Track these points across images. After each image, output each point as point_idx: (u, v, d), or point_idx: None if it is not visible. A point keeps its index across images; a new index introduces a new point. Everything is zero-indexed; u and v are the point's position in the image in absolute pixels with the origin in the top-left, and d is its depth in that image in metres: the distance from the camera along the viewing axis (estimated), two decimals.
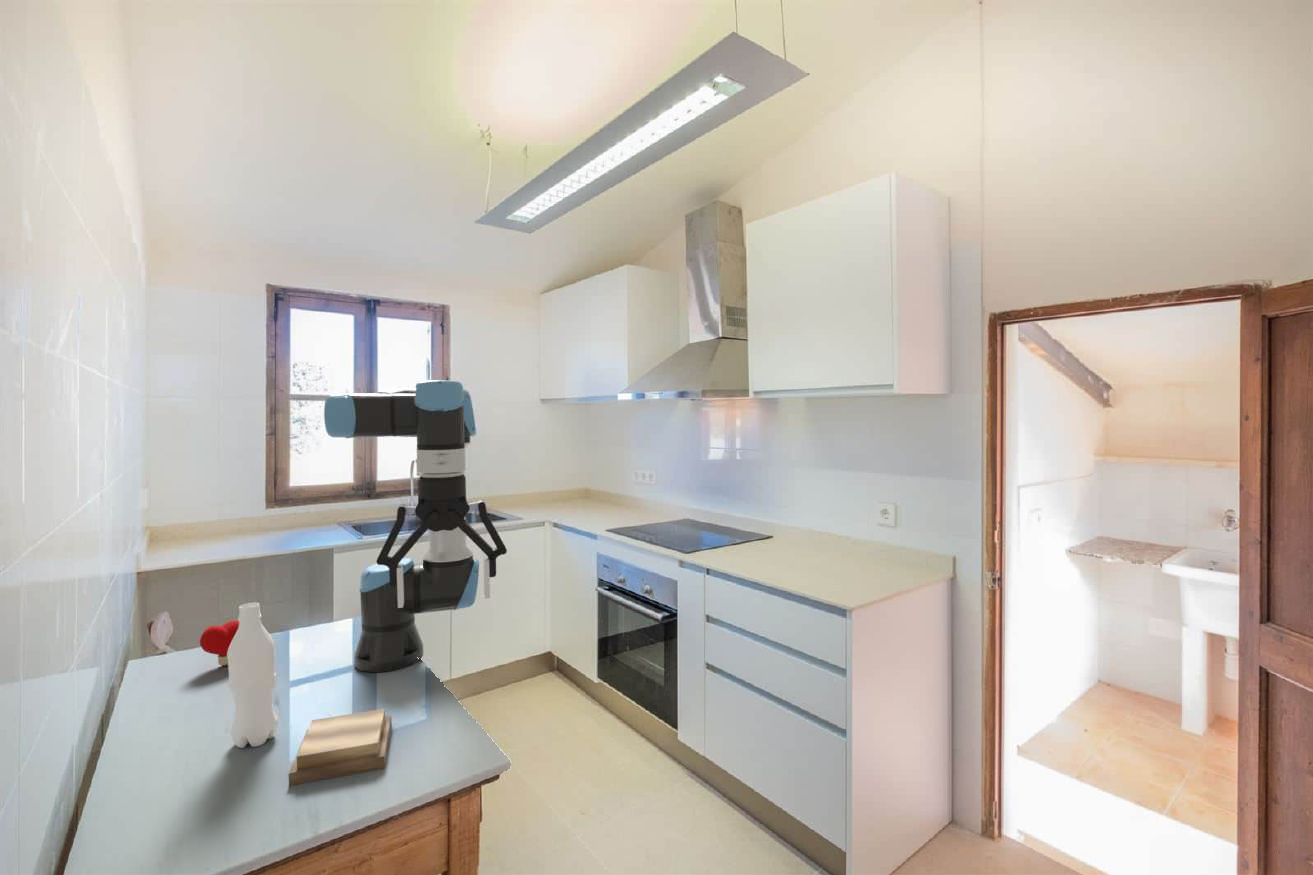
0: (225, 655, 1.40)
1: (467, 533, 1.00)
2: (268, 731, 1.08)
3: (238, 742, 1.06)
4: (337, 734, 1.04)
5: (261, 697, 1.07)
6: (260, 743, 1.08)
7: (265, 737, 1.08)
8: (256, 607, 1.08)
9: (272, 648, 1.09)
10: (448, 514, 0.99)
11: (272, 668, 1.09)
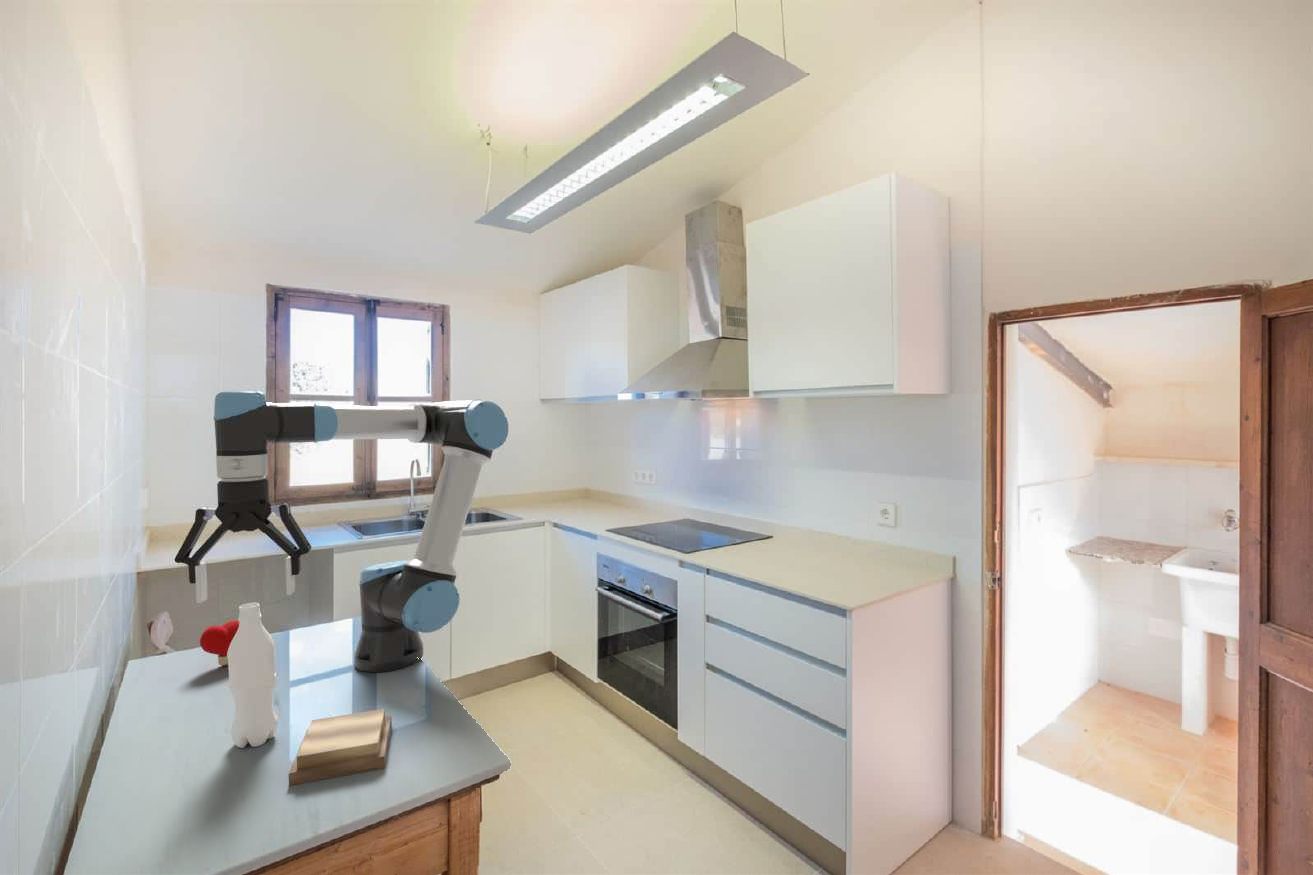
0: (225, 655, 1.40)
1: (268, 534, 1.08)
2: (268, 731, 1.08)
3: (238, 742, 1.06)
4: (337, 734, 1.04)
5: (261, 697, 1.07)
6: (260, 743, 1.08)
7: (265, 737, 1.08)
8: (256, 607, 1.08)
9: (272, 648, 1.09)
10: (246, 516, 1.06)
11: (272, 668, 1.09)
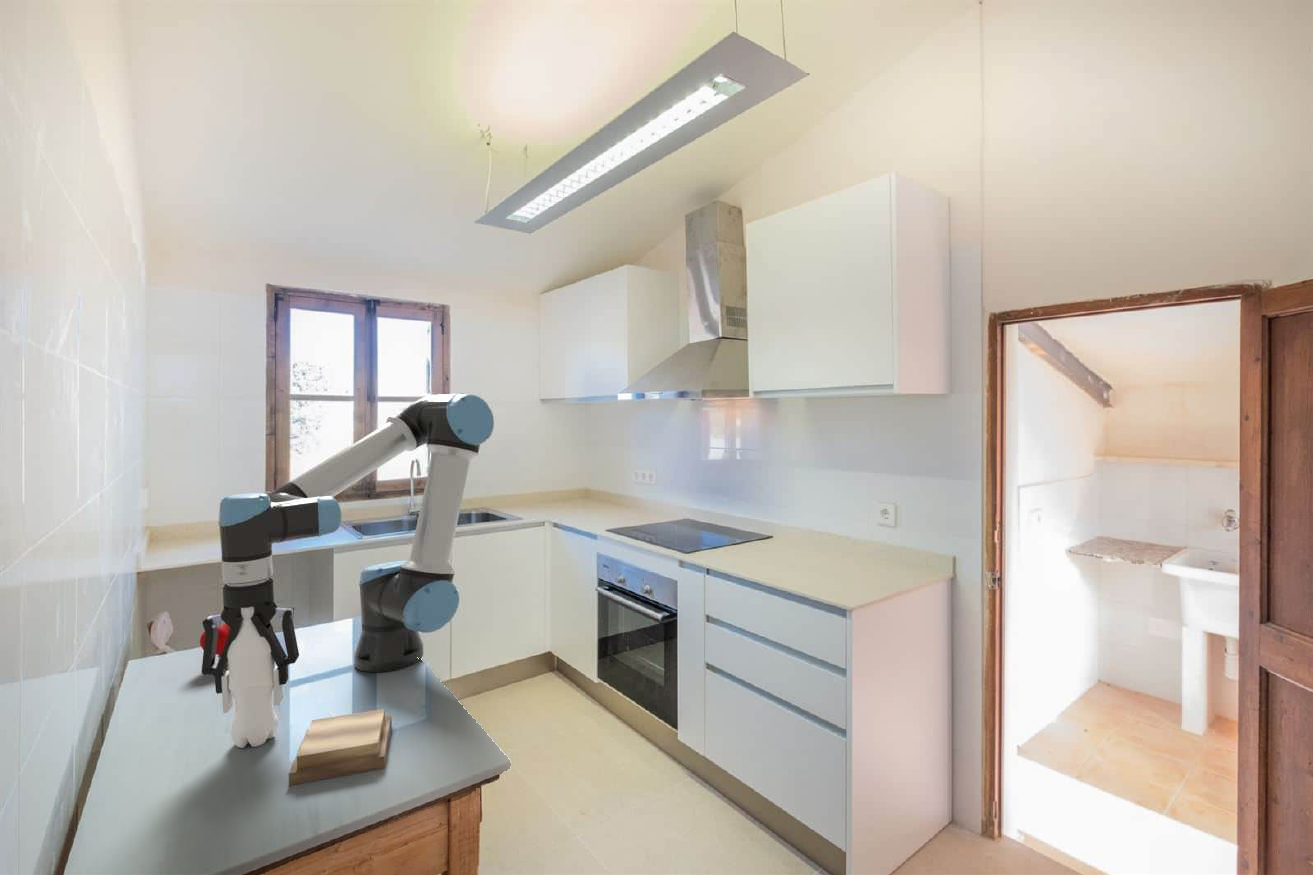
0: None
1: None
2: (268, 730, 1.08)
3: (238, 742, 1.06)
4: (337, 734, 1.04)
5: (261, 697, 1.07)
6: (260, 743, 1.08)
7: (265, 737, 1.08)
8: None
9: None
10: (252, 618, 1.07)
11: (272, 668, 1.09)
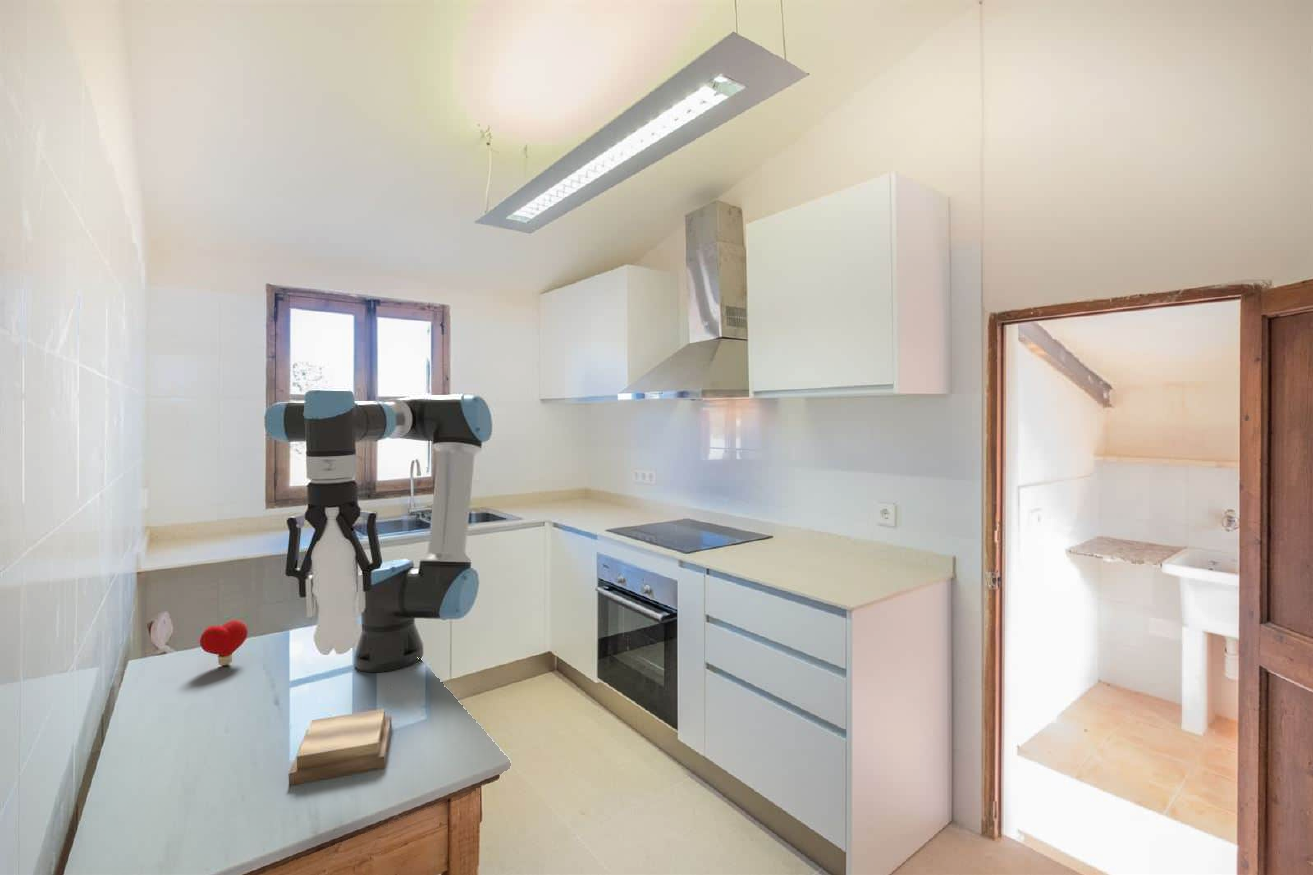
0: (225, 655, 1.40)
1: None
2: (352, 638, 1.03)
3: (323, 649, 1.01)
4: (337, 734, 1.04)
5: (345, 602, 1.02)
6: (345, 650, 1.02)
7: (350, 644, 1.03)
8: None
9: None
10: (337, 518, 1.02)
11: (356, 573, 1.04)
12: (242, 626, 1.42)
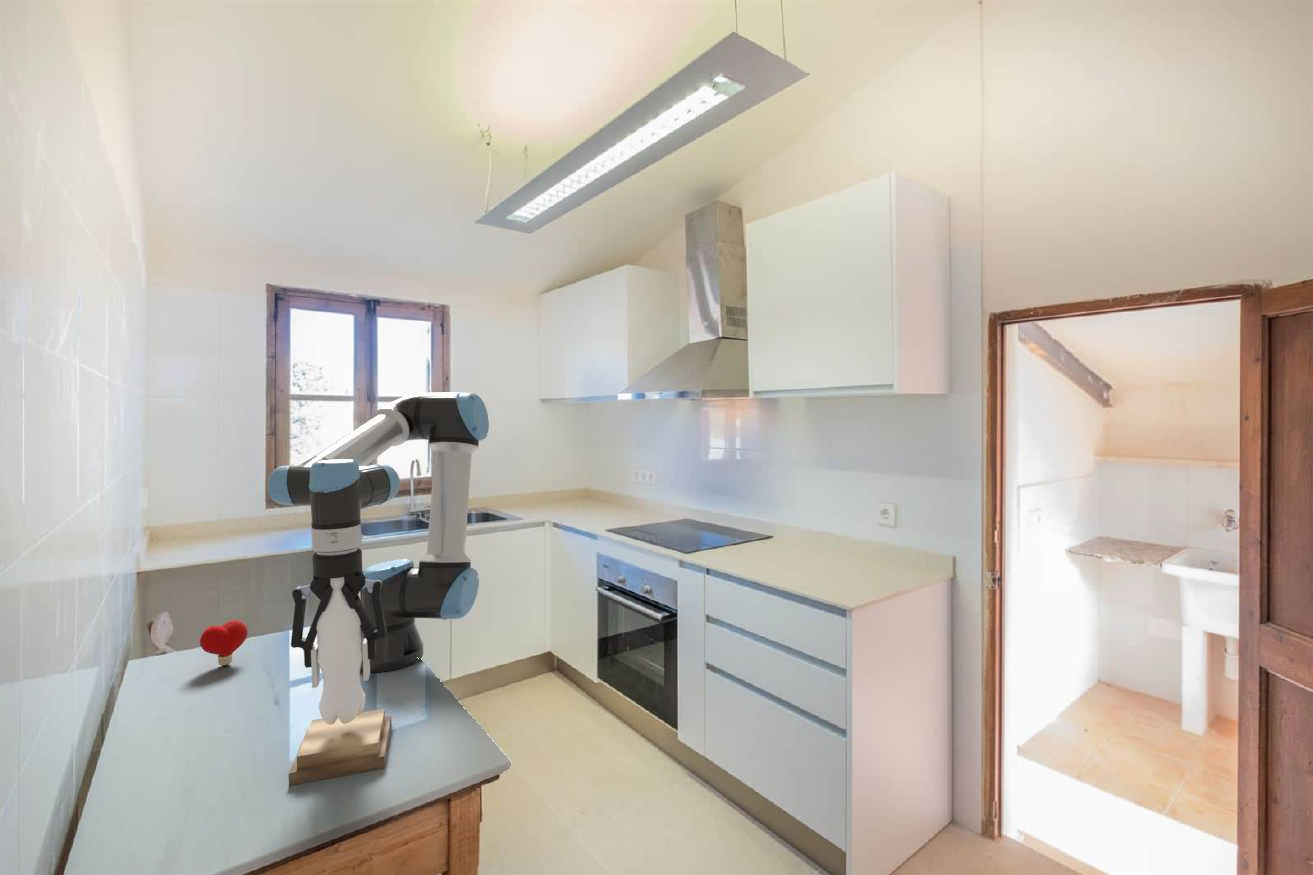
0: (225, 655, 1.40)
1: None
2: (357, 707, 1.04)
3: (328, 719, 1.02)
4: (337, 734, 1.04)
5: (351, 672, 1.03)
6: (350, 720, 1.03)
7: (355, 714, 1.03)
8: None
9: None
10: (342, 589, 1.02)
11: (361, 642, 1.05)
12: (242, 626, 1.42)
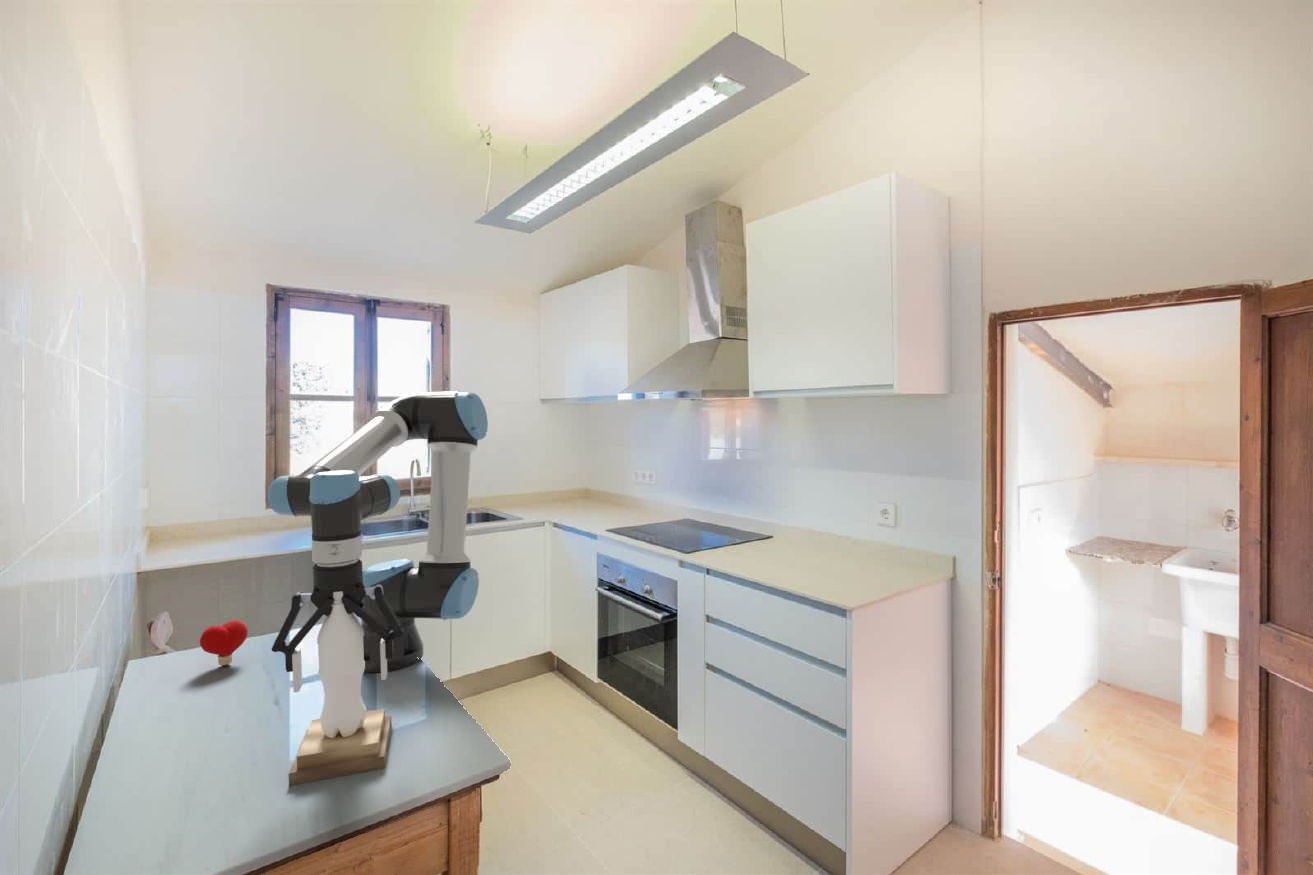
0: (225, 655, 1.40)
1: (362, 618, 1.04)
2: (358, 720, 1.04)
3: (329, 732, 1.02)
4: (337, 734, 1.04)
5: (352, 685, 1.03)
6: (351, 733, 1.03)
7: (356, 727, 1.04)
8: None
9: (362, 634, 1.05)
10: (343, 601, 1.02)
11: (362, 655, 1.05)
12: (242, 626, 1.42)
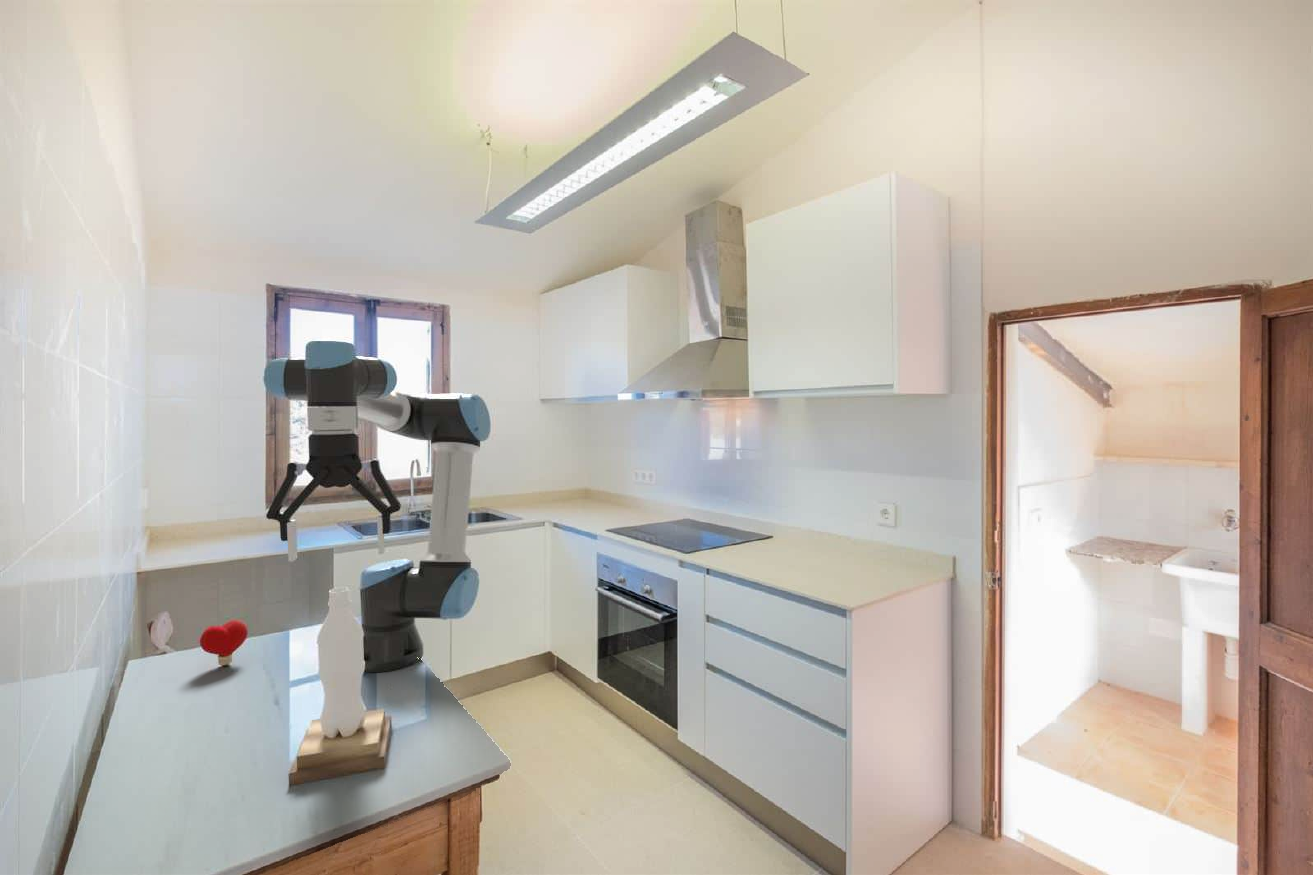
0: (225, 655, 1.40)
1: (359, 490, 1.03)
2: (358, 720, 1.04)
3: (329, 733, 1.02)
4: (337, 734, 1.04)
5: (352, 685, 1.03)
6: (351, 733, 1.03)
7: (356, 727, 1.04)
8: (346, 592, 1.04)
9: (362, 635, 1.05)
10: (338, 471, 1.01)
11: (362, 655, 1.05)
12: (242, 626, 1.42)
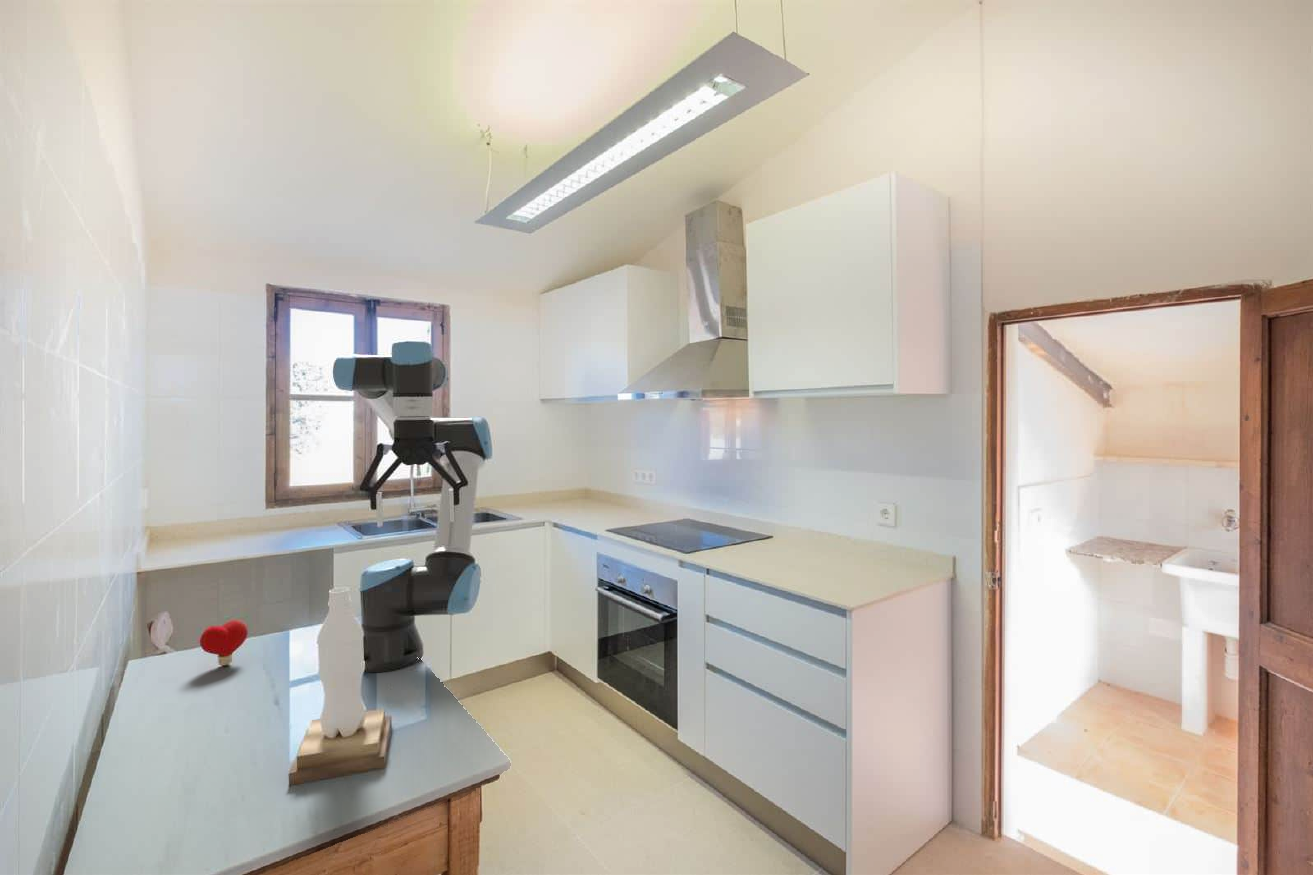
0: (225, 655, 1.40)
1: (435, 467, 1.22)
2: (358, 720, 1.04)
3: (329, 733, 1.02)
4: (337, 734, 1.04)
5: (352, 685, 1.03)
6: (351, 733, 1.03)
7: (356, 727, 1.04)
8: (346, 592, 1.04)
9: (362, 635, 1.05)
10: (418, 451, 1.20)
11: (362, 655, 1.05)
12: (242, 626, 1.42)
